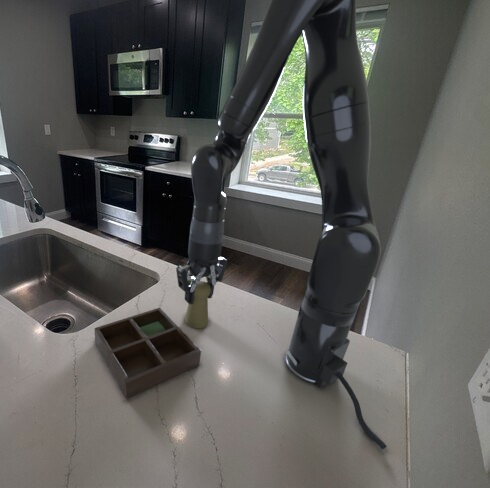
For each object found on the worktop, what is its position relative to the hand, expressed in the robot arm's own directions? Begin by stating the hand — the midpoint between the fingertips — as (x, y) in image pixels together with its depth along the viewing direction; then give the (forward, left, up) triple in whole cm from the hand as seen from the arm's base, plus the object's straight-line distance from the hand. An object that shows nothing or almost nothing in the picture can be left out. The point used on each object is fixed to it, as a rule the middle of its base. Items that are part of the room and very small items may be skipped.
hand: (198, 299), depth 74 cm
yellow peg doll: (0, 0, -7) cm, 7 cm away
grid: (-4, +17, -6) cm, 19 cm away
